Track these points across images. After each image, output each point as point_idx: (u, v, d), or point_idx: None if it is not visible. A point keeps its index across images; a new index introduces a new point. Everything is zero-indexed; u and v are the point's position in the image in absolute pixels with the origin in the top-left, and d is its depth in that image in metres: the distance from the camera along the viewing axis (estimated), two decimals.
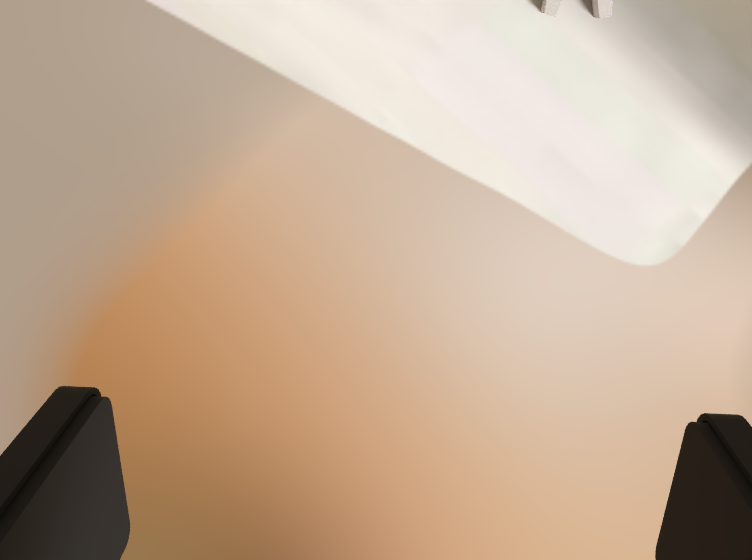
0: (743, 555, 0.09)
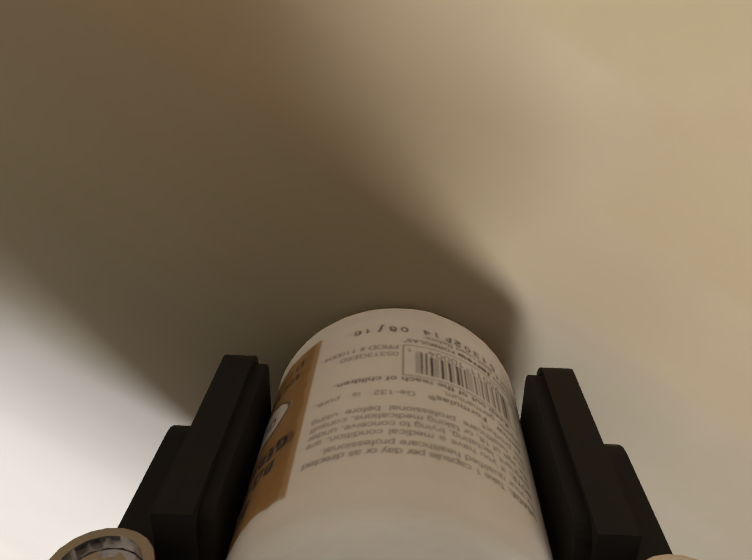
0: (546, 486, 0.10)
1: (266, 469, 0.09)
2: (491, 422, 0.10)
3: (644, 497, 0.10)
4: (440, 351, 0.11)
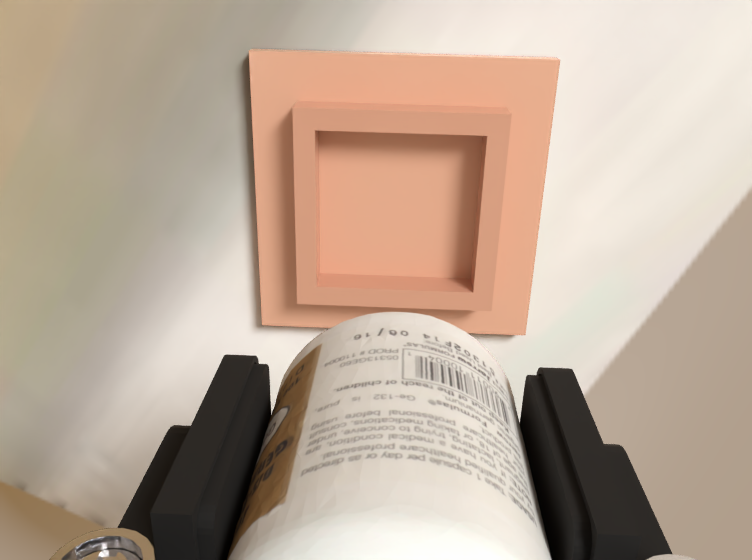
0: (546, 485, 0.10)
1: (266, 475, 0.09)
2: (491, 427, 0.10)
3: (644, 497, 0.10)
4: (440, 355, 0.11)
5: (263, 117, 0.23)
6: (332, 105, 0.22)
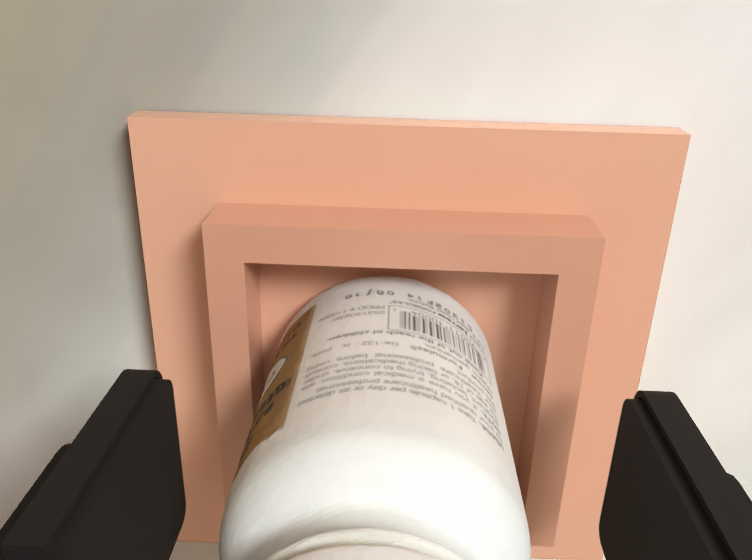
0: (664, 520, 0.09)
1: (266, 410, 0.10)
2: (466, 370, 0.11)
3: None
4: (422, 311, 0.12)
5: (160, 229, 0.13)
6: (277, 215, 0.12)
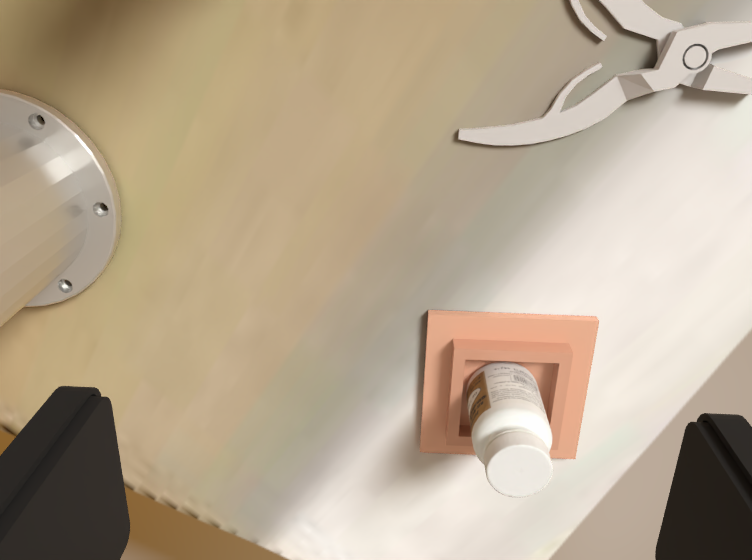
0: (743, 555, 0.09)
1: (481, 403, 0.39)
2: (534, 392, 0.40)
3: None
4: (519, 374, 0.41)
5: (432, 346, 0.42)
6: (474, 344, 0.41)
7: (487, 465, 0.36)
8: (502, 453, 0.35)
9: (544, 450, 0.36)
